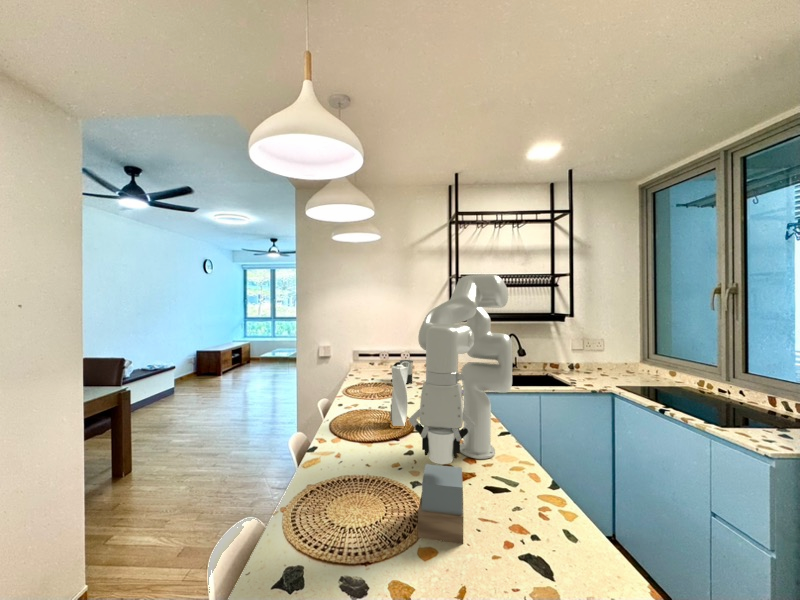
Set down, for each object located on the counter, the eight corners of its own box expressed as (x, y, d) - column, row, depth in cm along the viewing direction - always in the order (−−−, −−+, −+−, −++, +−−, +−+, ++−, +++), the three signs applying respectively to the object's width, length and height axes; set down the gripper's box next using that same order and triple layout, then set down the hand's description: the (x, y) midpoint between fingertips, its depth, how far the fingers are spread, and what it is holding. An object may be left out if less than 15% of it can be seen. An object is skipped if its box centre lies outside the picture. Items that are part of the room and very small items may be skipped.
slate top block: (425, 488, 81) (425, 464, 81) (461, 491, 80) (461, 467, 80) (421, 510, 72) (422, 483, 72) (462, 515, 71) (462, 487, 71)
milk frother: (413, 381, 222) (413, 359, 222) (411, 387, 206) (412, 363, 206) (392, 380, 223) (393, 359, 223) (389, 386, 207) (390, 363, 208)
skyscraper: (408, 423, 143) (409, 360, 143) (408, 430, 135) (409, 363, 135) (390, 422, 143) (390, 359, 144) (388, 429, 135) (389, 362, 136)
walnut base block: (422, 510, 82) (423, 486, 82) (462, 515, 80) (463, 491, 80) (417, 538, 72) (418, 511, 72) (463, 544, 70) (463, 516, 70)
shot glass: (452, 451, 80) (452, 423, 80) (458, 465, 73) (458, 434, 73) (424, 451, 79) (425, 423, 80) (428, 465, 73) (428, 434, 73)
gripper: (478, 376, 79) (477, 451, 78) (408, 373, 82) (407, 444, 82) (479, 383, 71) (479, 466, 71) (403, 379, 75) (402, 457, 74)
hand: (441, 453), depth 76 cm, fingers closed on shot glass, 6 cm apart
